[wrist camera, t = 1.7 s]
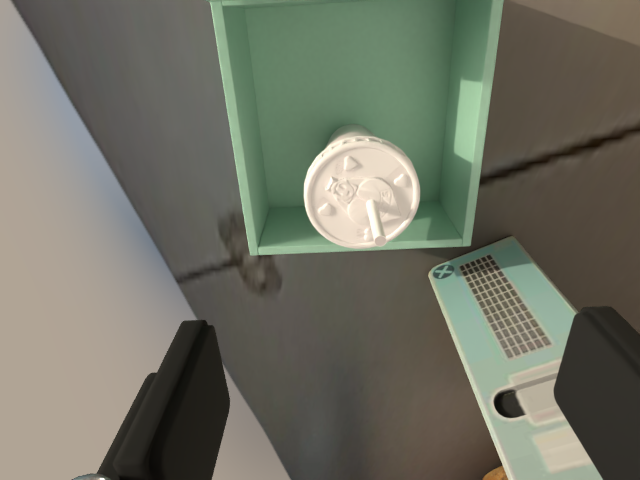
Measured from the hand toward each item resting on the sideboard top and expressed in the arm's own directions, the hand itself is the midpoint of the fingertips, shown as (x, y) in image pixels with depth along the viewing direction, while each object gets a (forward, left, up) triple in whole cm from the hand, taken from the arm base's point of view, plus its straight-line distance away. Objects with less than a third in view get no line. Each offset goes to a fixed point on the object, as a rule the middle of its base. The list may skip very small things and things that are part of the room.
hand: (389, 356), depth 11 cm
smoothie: (+1, 0, -22) cm, 22 cm away
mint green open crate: (-2, 0, -23) cm, 23 cm away
